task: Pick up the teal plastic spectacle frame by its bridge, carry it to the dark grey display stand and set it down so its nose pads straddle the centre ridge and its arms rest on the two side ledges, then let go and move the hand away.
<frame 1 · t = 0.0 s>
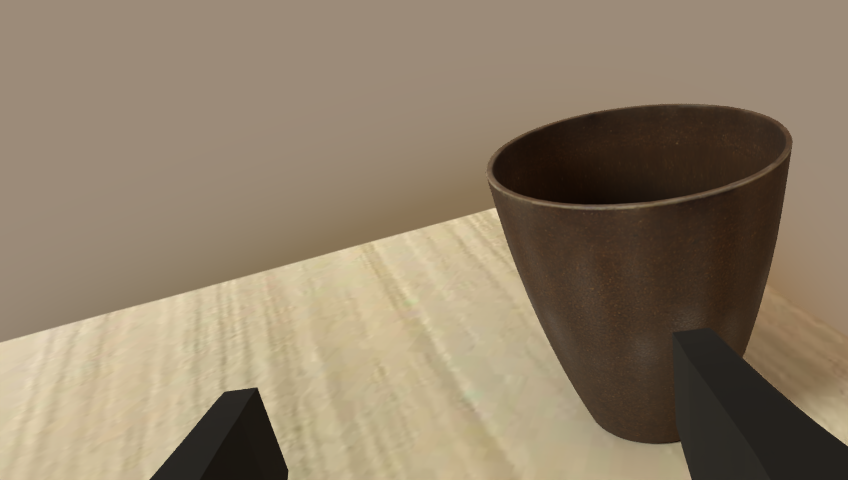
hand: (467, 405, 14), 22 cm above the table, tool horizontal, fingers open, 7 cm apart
plant pot: (651, 405, 47), on the table
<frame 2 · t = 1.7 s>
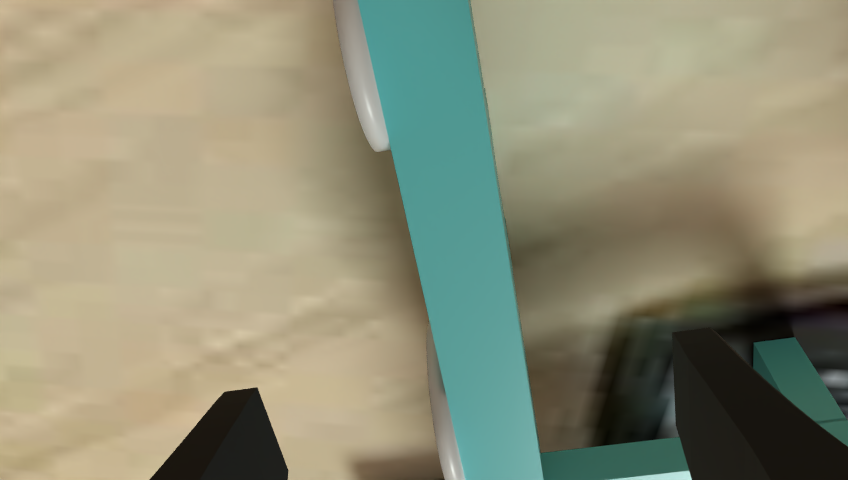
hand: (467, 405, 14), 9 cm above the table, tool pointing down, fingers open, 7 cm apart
spectacle frame: (461, 181, 22), on the table
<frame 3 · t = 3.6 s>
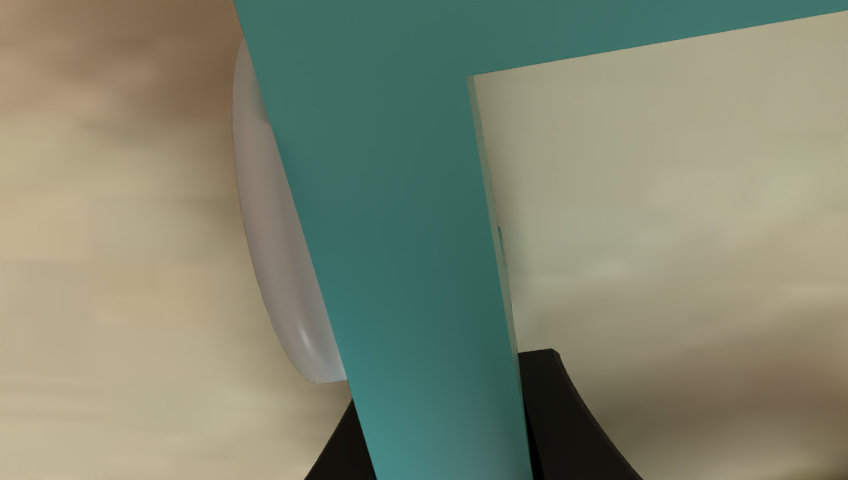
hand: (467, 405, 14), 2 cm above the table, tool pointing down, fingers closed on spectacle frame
spectacle frame: (465, 348, 15), on the table, touching gripper
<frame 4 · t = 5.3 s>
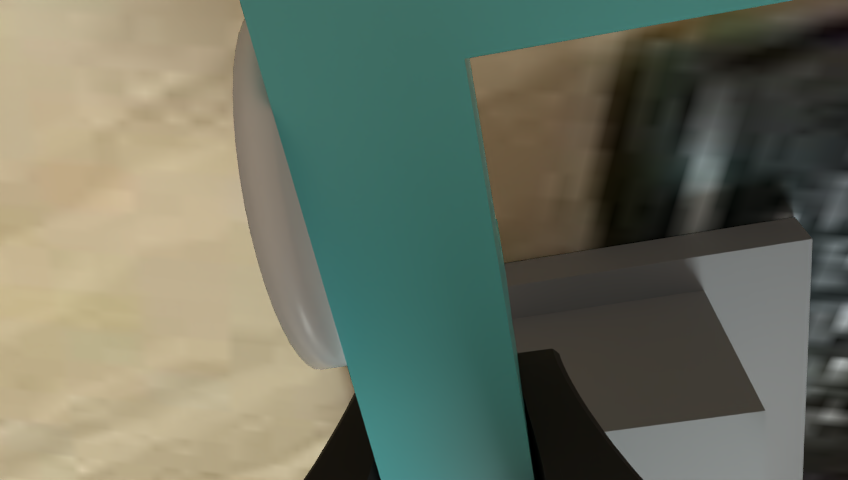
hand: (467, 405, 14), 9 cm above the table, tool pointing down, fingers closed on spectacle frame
spectacle frame: (463, 340, 15), point 7 cm above the table, touching gripper
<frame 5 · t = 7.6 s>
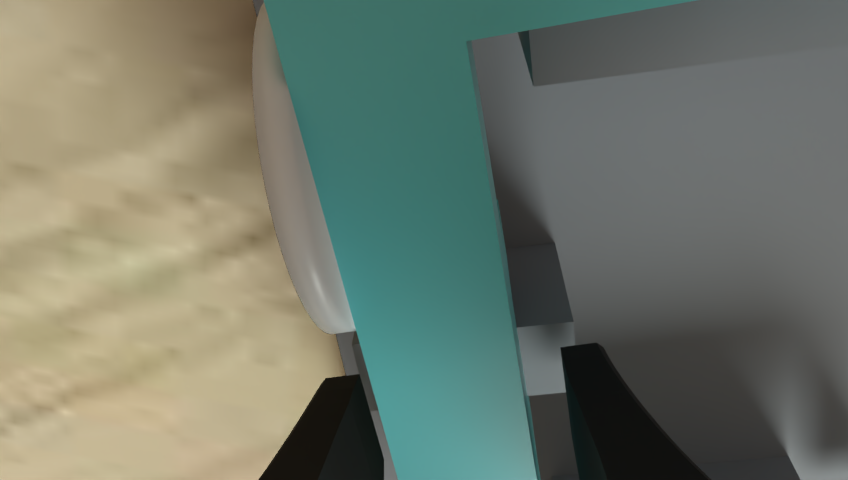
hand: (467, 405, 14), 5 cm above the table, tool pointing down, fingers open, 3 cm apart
display stand: (462, 256, 18), on the table
spectacle frame: (465, 317, 16), point 2 cm above the table, touching display stand
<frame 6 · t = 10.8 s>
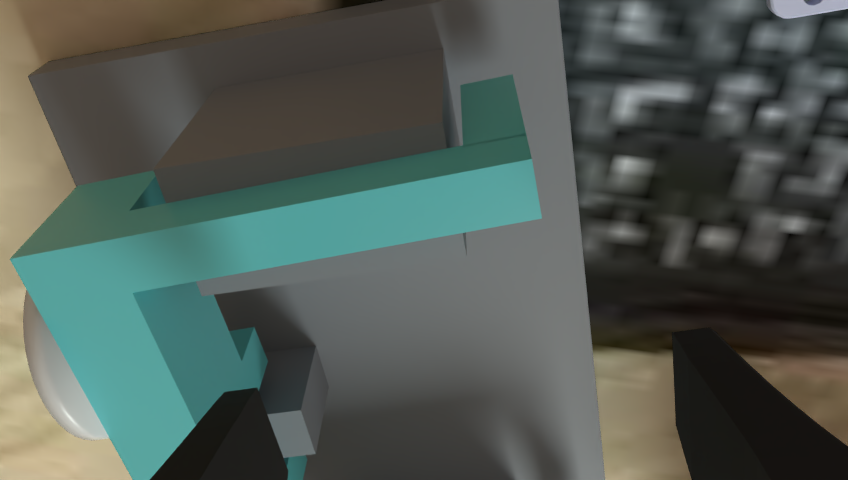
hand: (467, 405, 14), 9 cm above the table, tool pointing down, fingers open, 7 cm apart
display stand: (266, 350, 25), on the table
spectacle frame: (249, 401, 23), point 2 cm above the table, touching display stand
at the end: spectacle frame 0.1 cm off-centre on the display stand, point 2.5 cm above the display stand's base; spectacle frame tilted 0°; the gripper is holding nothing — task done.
